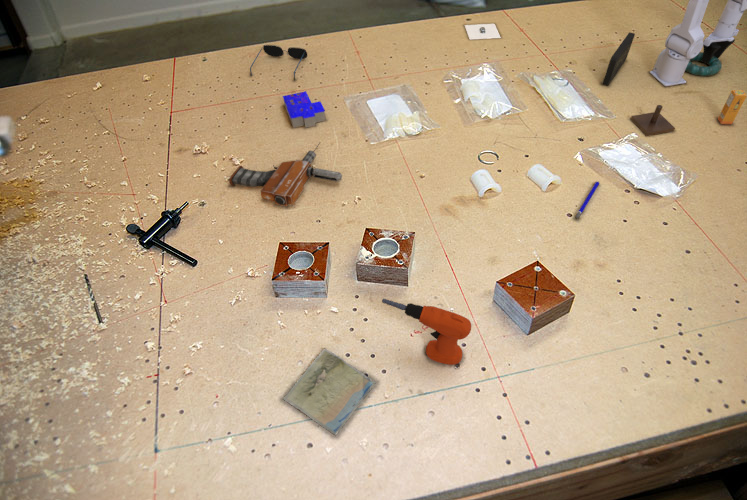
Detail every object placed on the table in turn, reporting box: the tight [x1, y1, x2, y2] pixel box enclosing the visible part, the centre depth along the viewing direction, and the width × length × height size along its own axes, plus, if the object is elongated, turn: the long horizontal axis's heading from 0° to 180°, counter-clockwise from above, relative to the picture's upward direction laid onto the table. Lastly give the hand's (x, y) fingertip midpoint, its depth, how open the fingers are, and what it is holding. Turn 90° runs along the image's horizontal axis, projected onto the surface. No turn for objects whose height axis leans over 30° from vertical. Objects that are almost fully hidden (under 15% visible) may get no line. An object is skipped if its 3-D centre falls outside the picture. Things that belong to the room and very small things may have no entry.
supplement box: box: [717, 89, 747, 125], centre depth 157 cm, size 3×3×10 cm
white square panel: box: [464, 23, 502, 41], centre depth 204 cm, size 12×12×2 cm
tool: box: [228, 141, 343, 207], centre depth 149 cm, size 4×27×30 cm
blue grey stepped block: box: [282, 90, 326, 129], centre depth 168 cm, size 11×15×5 cm
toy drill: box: [381, 298, 472, 366], centre depth 105 cm, size 5×19×15 cm, turn 71°
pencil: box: [574, 180, 600, 220], centre depth 139 cm, size 17×1×1 cm, turn 146°
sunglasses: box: [249, 44, 308, 81], centre depth 189 cm, size 17×15×5 cm
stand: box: [630, 104, 676, 137], centre depth 158 cm, size 9×9×7 cm
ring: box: [685, 51, 723, 77], centre depth 181 cm, size 13×13×3 cm
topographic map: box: [282, 347, 377, 436], centre depth 105 cm, size 14×14×2 cm
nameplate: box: [602, 31, 636, 86], centre depth 178 cm, size 21×2×10 cm, turn 146°
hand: (709, 59), depth 182 cm, fingers open, 4 cm apart
